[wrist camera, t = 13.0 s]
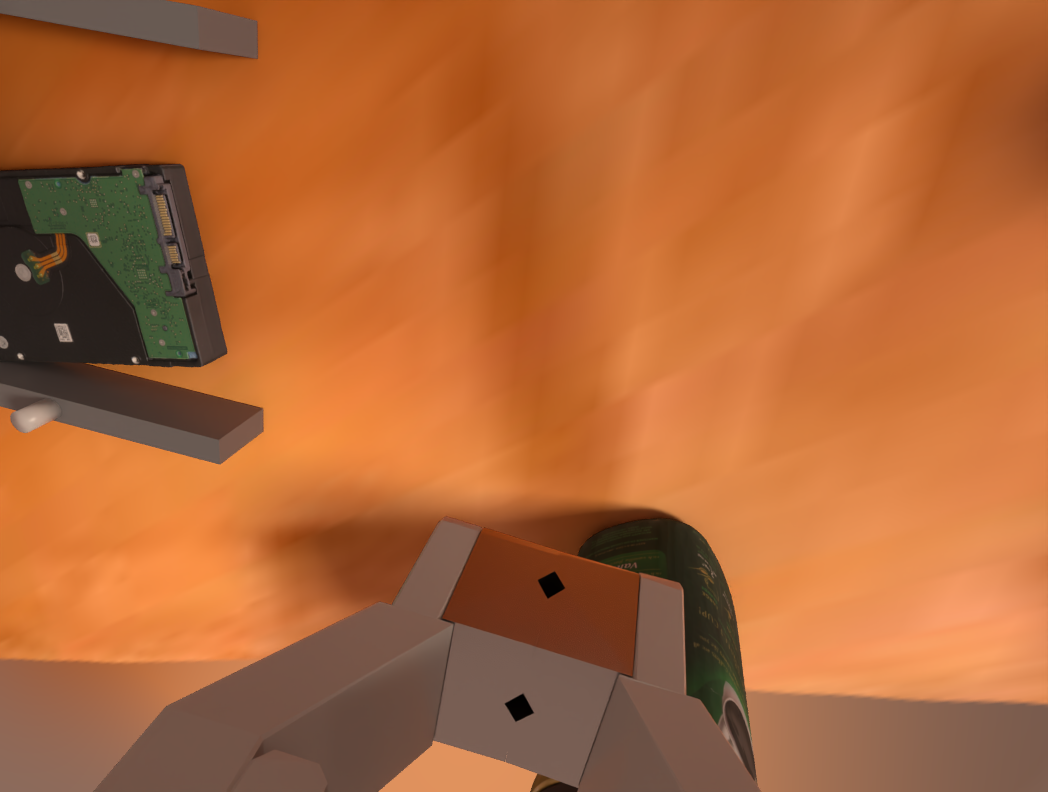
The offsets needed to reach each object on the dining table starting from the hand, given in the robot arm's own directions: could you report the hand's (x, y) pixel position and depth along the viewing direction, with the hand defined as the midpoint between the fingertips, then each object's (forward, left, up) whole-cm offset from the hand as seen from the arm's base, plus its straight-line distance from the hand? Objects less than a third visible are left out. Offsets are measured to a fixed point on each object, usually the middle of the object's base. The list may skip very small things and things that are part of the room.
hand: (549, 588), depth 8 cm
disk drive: (+7, -29, -24) cm, 38 cm away
